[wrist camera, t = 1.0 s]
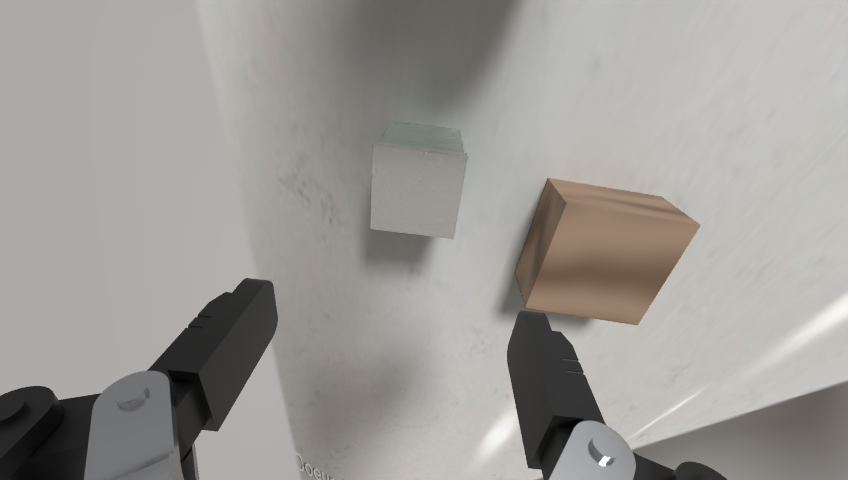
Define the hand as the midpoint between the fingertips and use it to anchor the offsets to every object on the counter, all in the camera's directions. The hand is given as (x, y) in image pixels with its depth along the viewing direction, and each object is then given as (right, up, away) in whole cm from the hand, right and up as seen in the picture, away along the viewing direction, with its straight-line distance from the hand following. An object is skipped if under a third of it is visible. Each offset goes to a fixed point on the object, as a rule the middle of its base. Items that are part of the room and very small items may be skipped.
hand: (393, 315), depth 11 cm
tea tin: (+1, +9, +15) cm, 17 cm away
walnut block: (+14, +3, +18) cm, 23 cm away
